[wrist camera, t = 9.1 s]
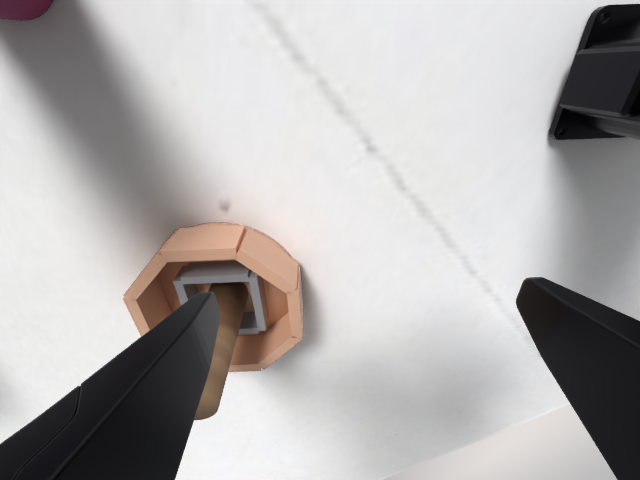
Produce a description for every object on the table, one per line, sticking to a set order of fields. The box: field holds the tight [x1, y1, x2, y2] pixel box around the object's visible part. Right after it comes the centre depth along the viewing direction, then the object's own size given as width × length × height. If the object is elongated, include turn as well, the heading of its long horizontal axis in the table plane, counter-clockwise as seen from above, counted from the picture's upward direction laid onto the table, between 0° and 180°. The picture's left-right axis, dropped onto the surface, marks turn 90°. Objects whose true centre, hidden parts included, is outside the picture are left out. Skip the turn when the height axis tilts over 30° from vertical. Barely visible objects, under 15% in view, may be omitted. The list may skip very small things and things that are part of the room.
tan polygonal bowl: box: [123, 222, 303, 372], centre depth 22 cm, size 12×12×4 cm
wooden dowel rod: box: [194, 282, 249, 420], centre depth 19 cm, size 3×3×9 cm
